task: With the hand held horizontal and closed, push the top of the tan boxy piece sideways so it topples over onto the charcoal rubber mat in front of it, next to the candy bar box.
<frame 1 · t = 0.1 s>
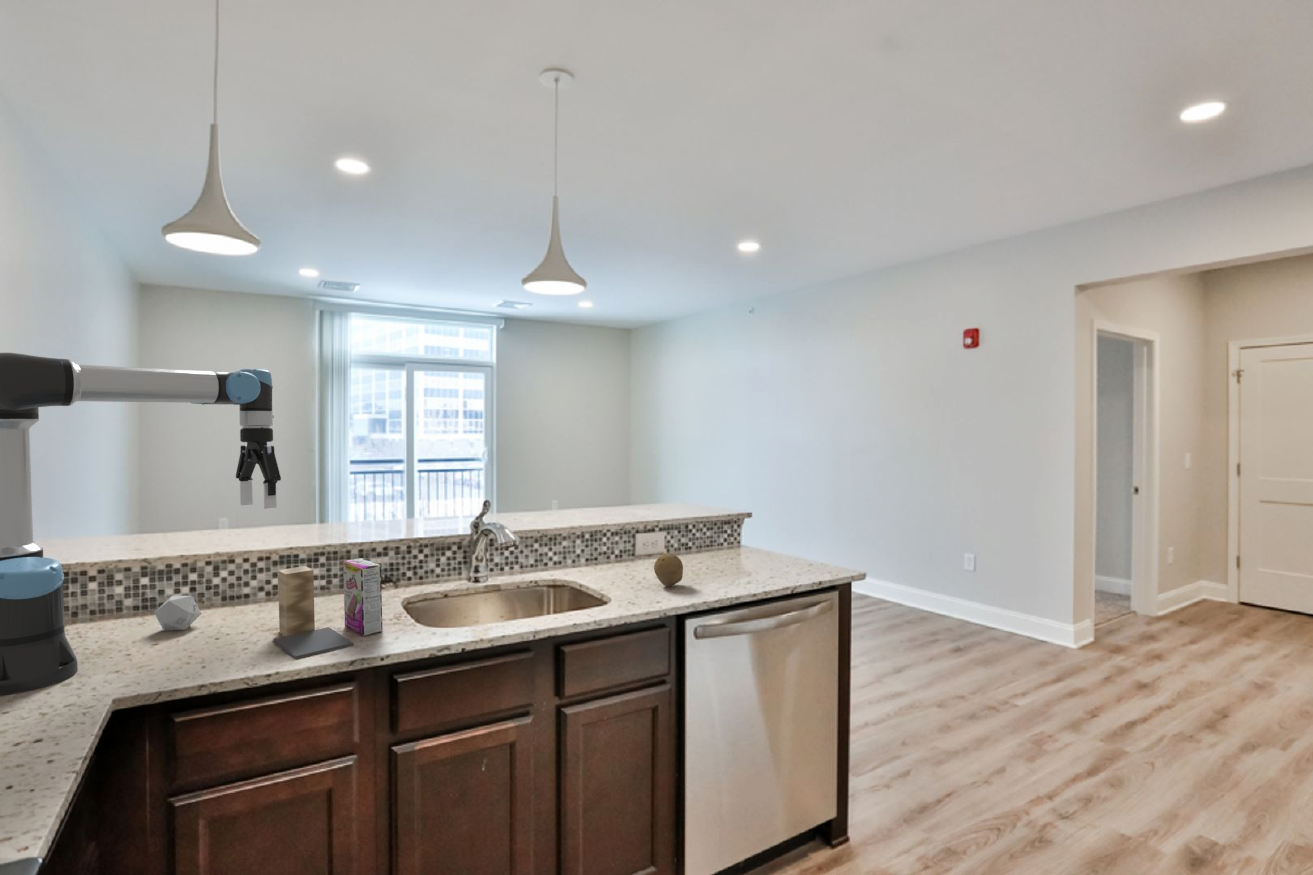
hand: (258, 506, 176), 28 cm above the worktop, tool pointing down, fingers open, 13 cm apart
die: (178, 629, 161), on the worktop
tan boxy piece: (297, 631, 158), on the worktop
mat: (313, 643, 149), on the worktop
candy bar box: (363, 630, 159), on the worktop
brown oval lump: (669, 586, 198), on the worktop
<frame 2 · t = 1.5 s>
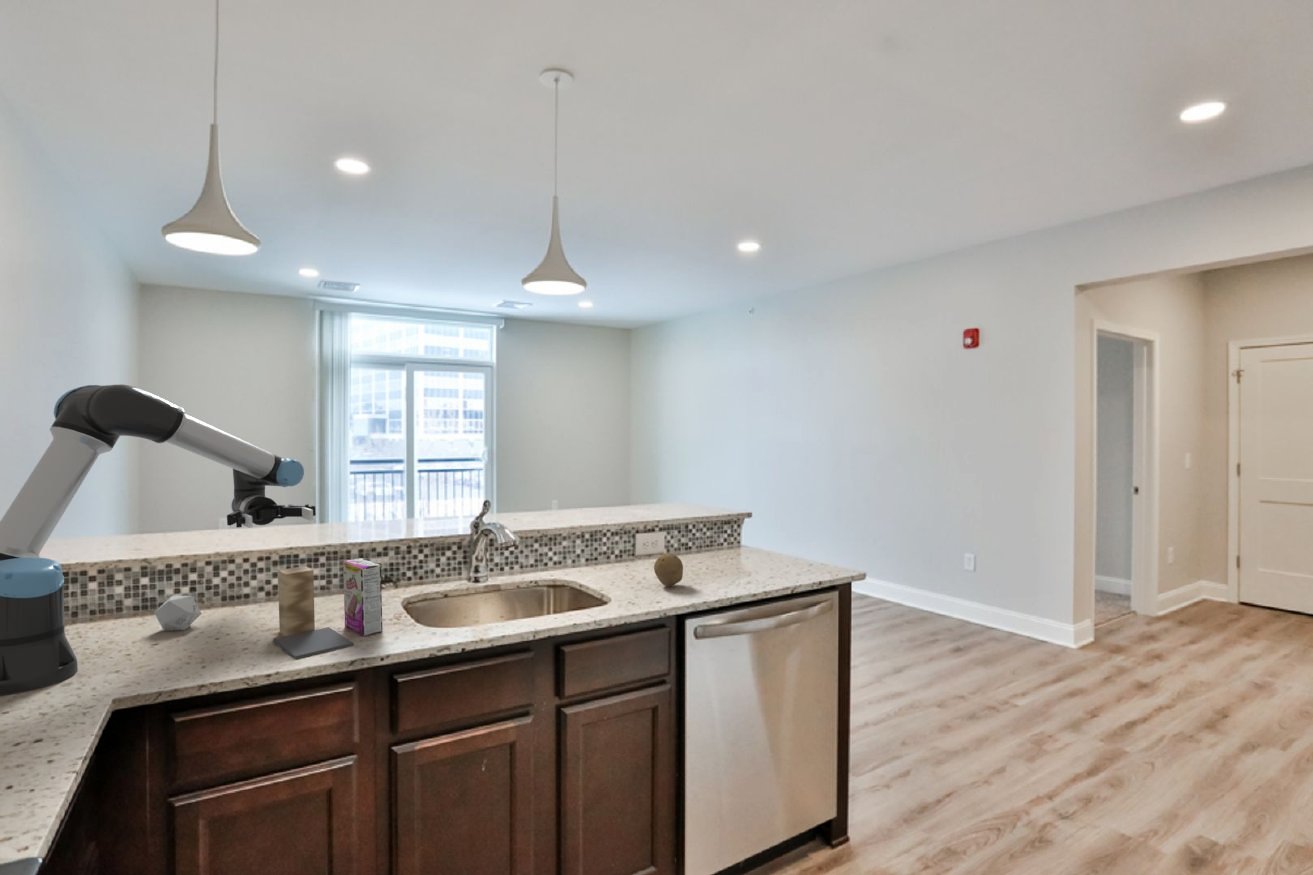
hand: (281, 518, 163), 26 cm above the worktop, tool horizontal, fingers open, 13 cm apart
nothing on the worktop moved.
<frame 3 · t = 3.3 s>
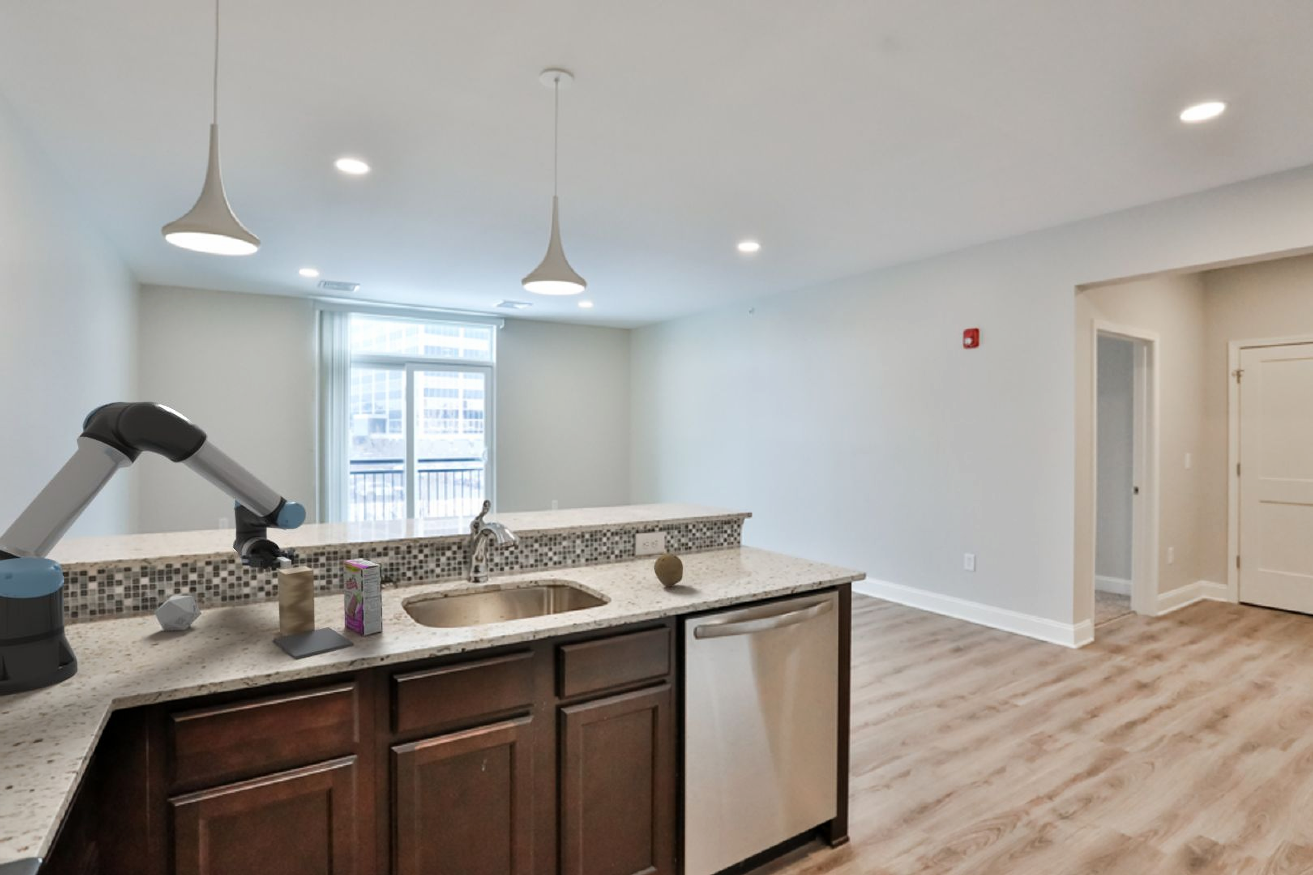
hand: (287, 566, 163), 15 cm above the worktop, tool horizontal, fingers closed
nothing on the worktop moved.
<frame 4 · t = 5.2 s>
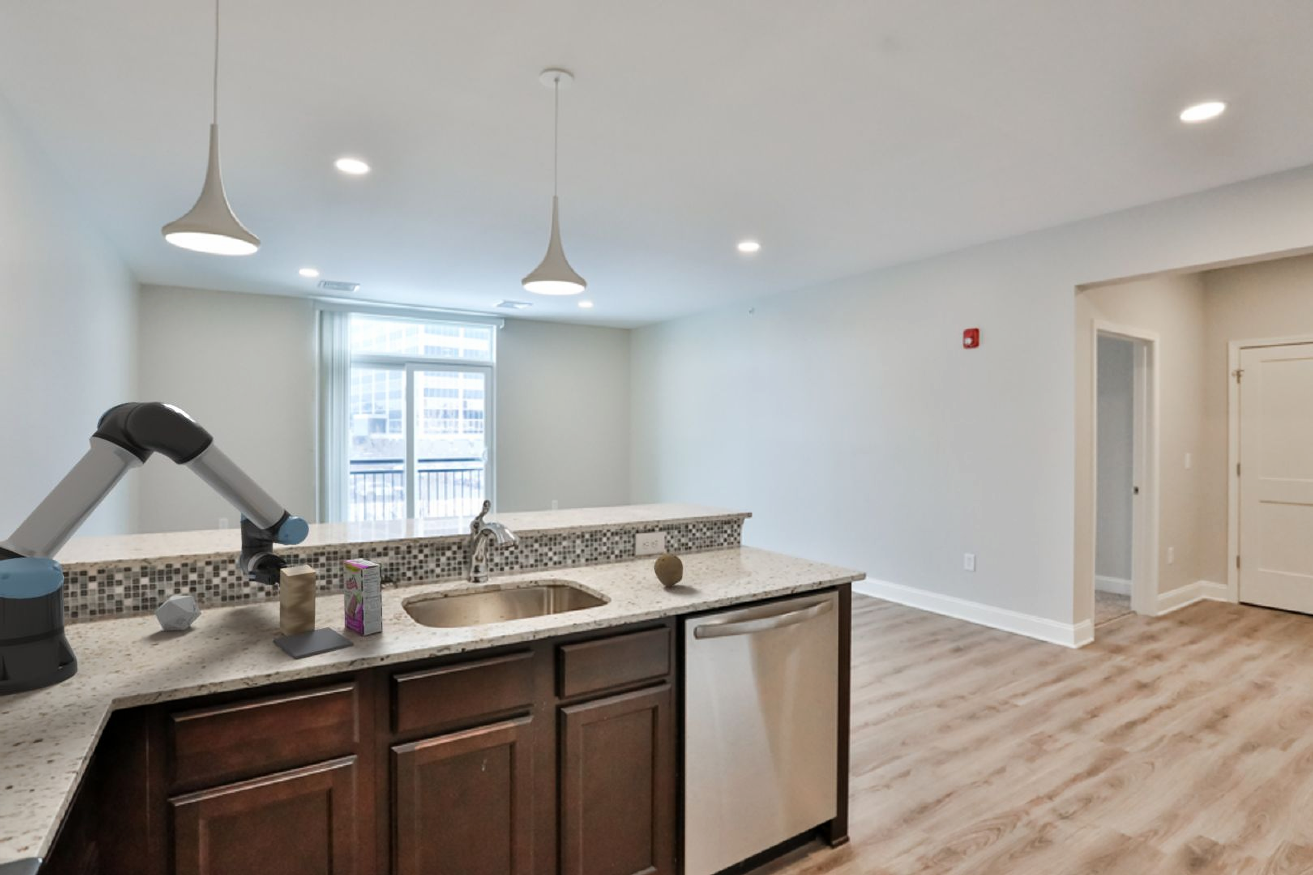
hand: (296, 582, 159), 11 cm above the worktop, tool horizontal, fingers closed
tan boxy piece: (297, 630, 158), on the worktop, tilted 7°
everything else where it was.
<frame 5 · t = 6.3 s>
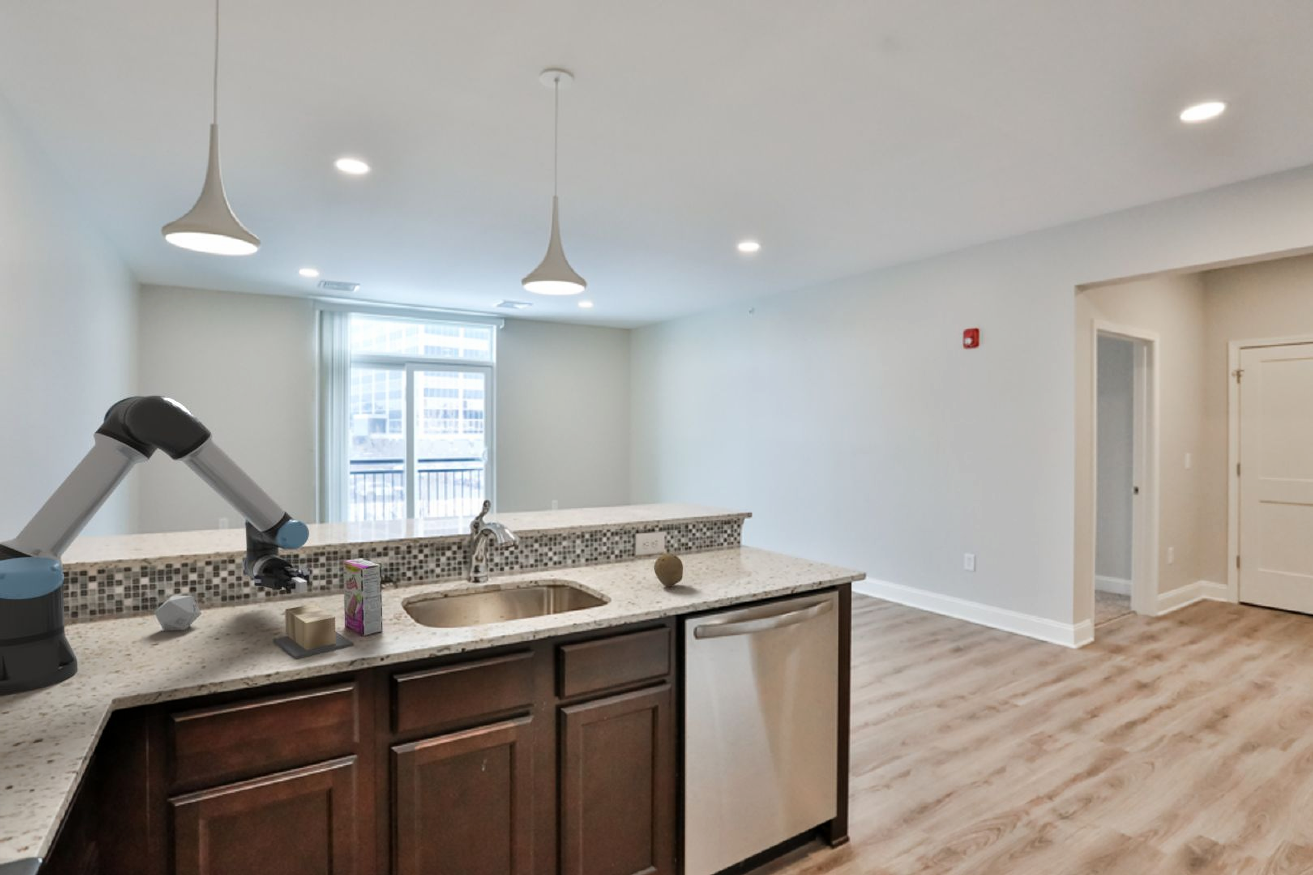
hand: (303, 587, 155), 11 cm above the worktop, tool horizontal, fingers closed
tan boxy piece: (299, 619, 156), point 4 cm above the worktop, tilted 90°, touching mat
everything else where it was.
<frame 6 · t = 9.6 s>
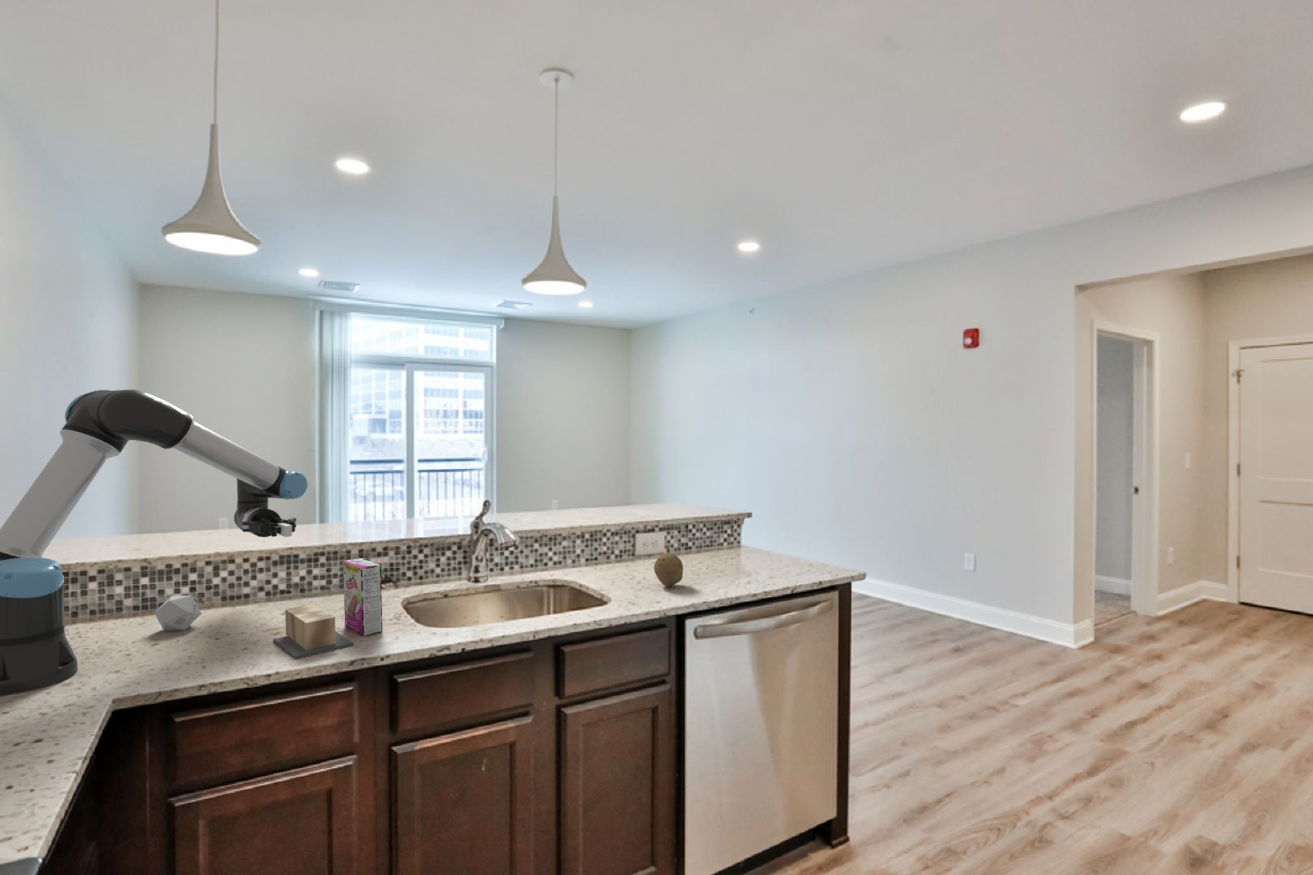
hand: (288, 531, 162), 24 cm above the worktop, tool horizontal, fingers closed
nothing on the worktop moved.
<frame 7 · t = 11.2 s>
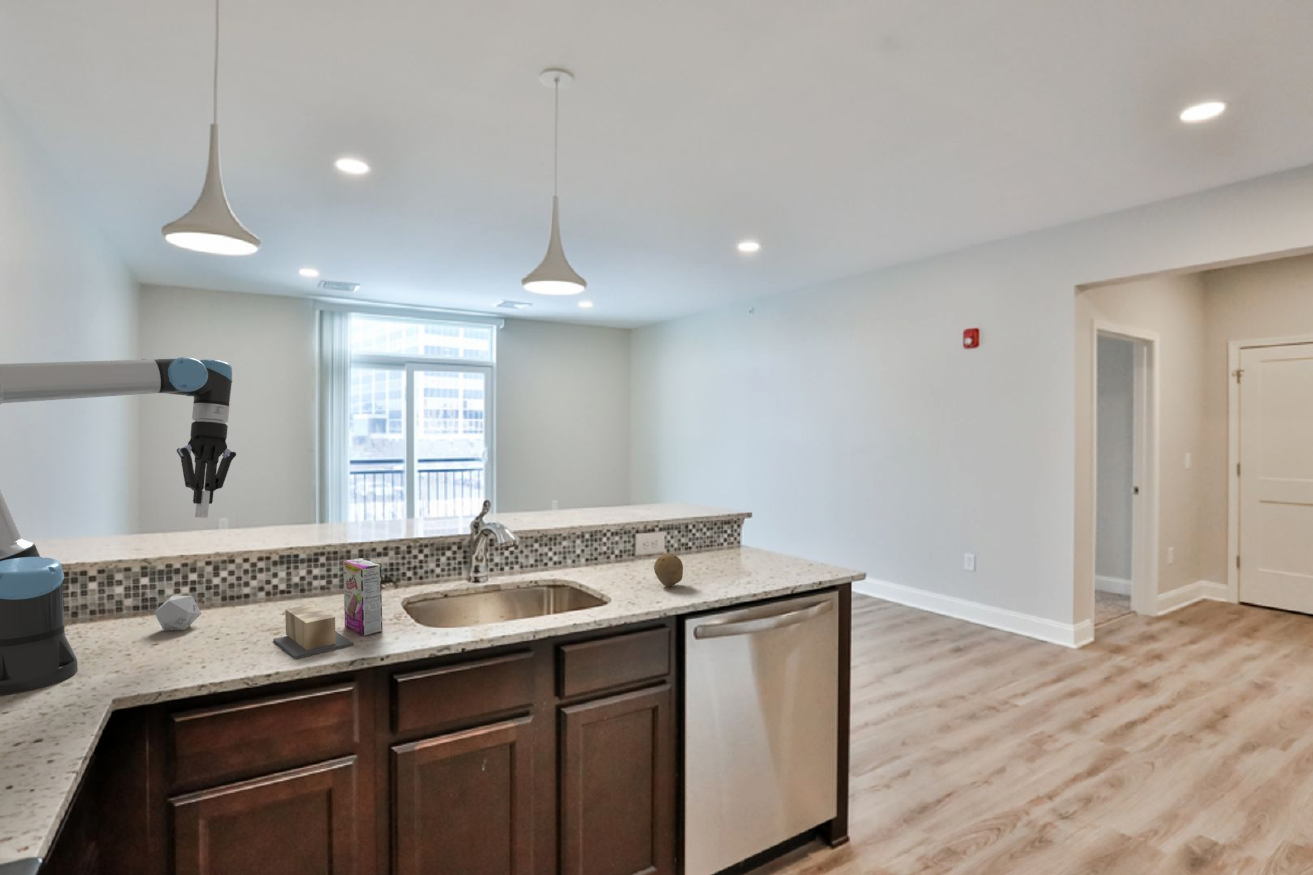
hand: (201, 517, 161), 27 cm above the worktop, tool pointing down, fingers closed
nothing on the worktop moved.
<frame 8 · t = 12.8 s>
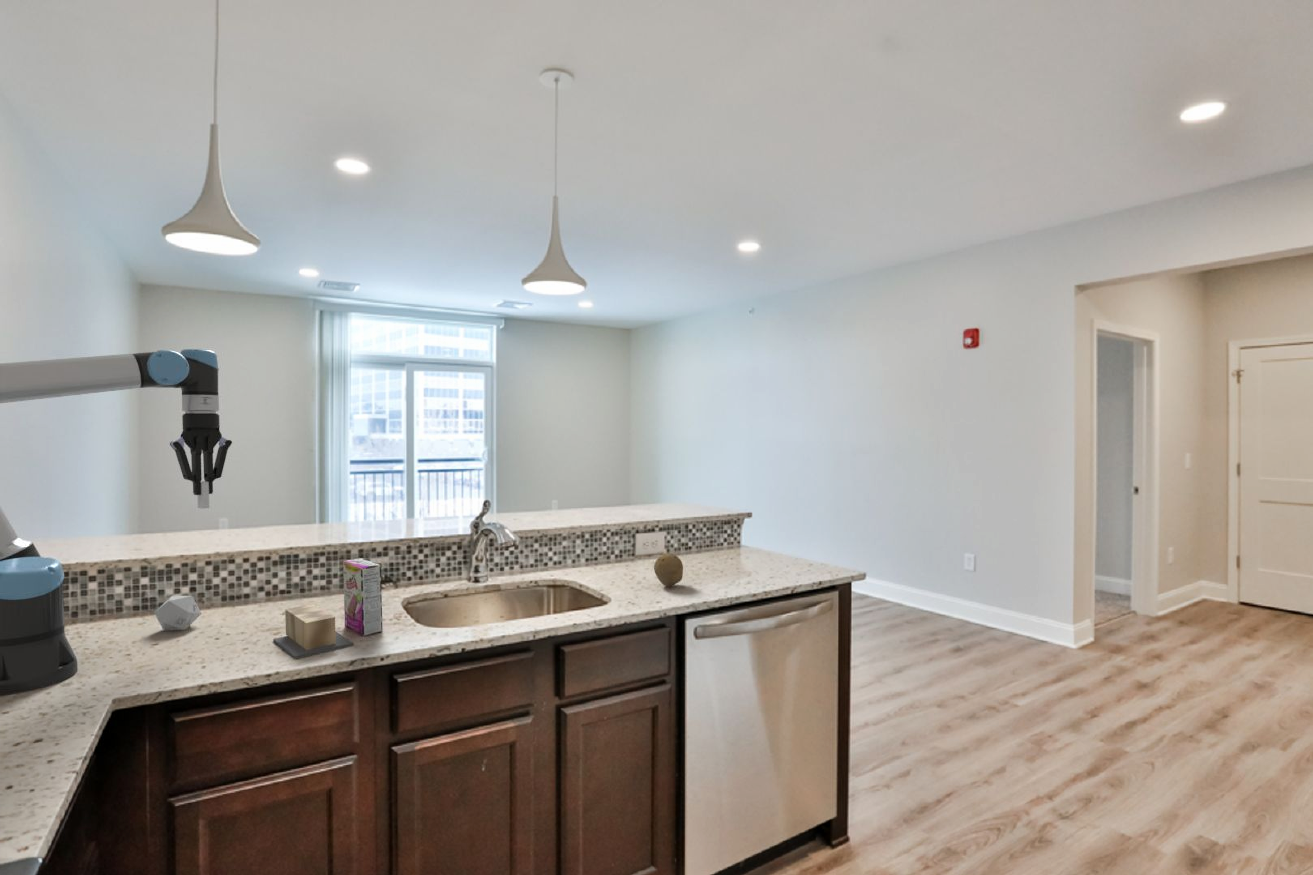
hand: (203, 507, 163), 29 cm above the worktop, tool pointing down, fingers closed
nothing on the worktop moved.
at the end: tan boxy piece tilted 90°; tan boxy piece inside the target area (9.9 cm from its centre), point 3.6 cm above the worktop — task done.
